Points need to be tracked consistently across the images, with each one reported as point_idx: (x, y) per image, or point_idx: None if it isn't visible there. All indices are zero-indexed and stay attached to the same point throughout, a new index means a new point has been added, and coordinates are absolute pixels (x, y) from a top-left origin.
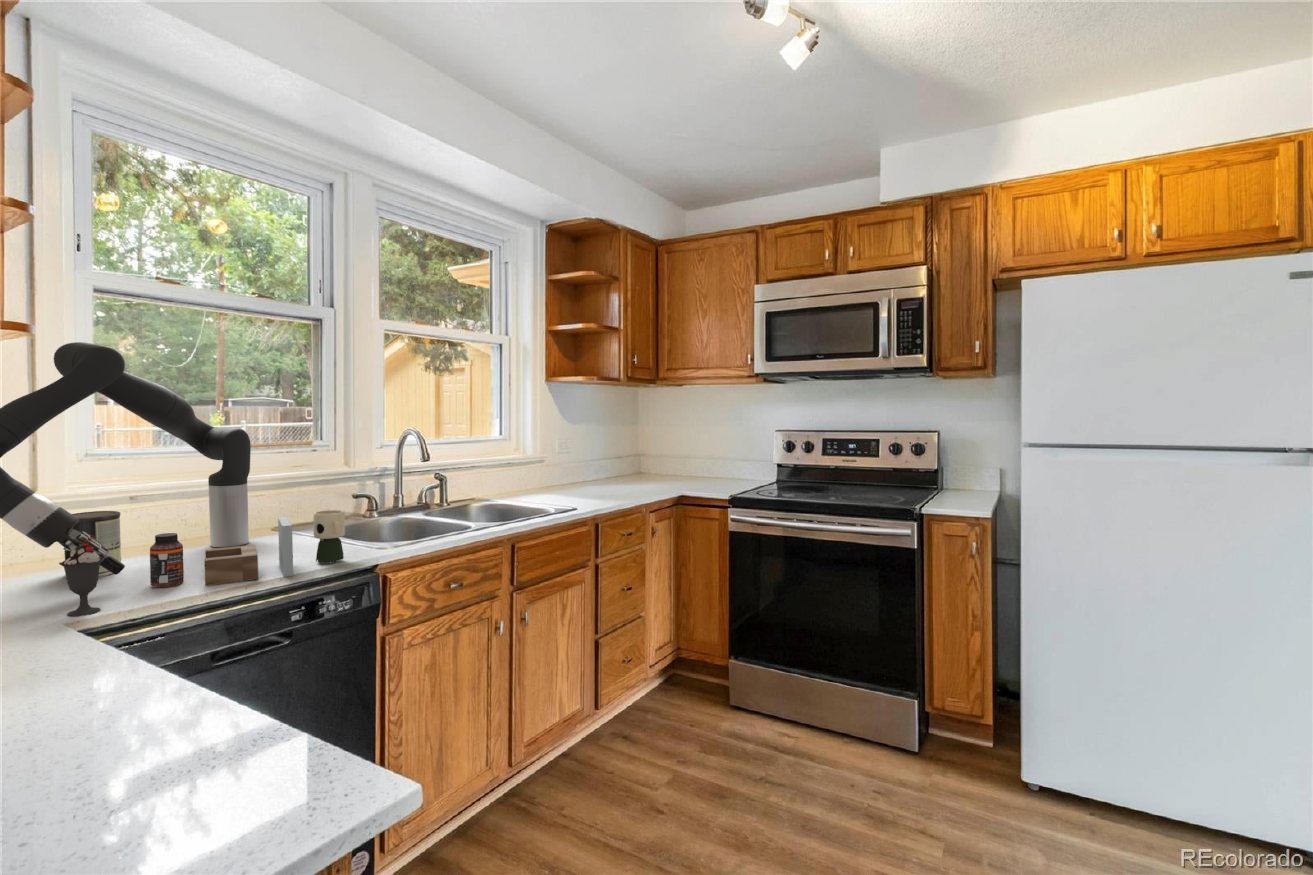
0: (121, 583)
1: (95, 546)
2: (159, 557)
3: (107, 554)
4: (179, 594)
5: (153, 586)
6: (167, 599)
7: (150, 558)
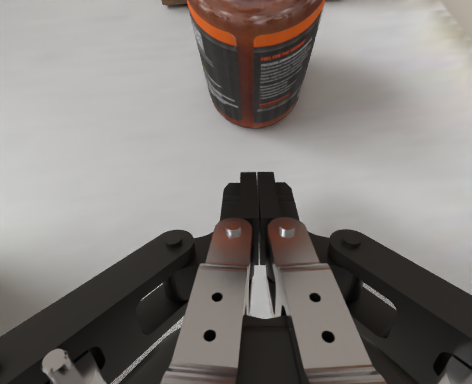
0: (147, 219)
1: (338, 287)
2: (319, 20)
3: (287, 222)
4: (406, 52)
5: (280, 119)
6: (456, 75)
7: (280, 61)
